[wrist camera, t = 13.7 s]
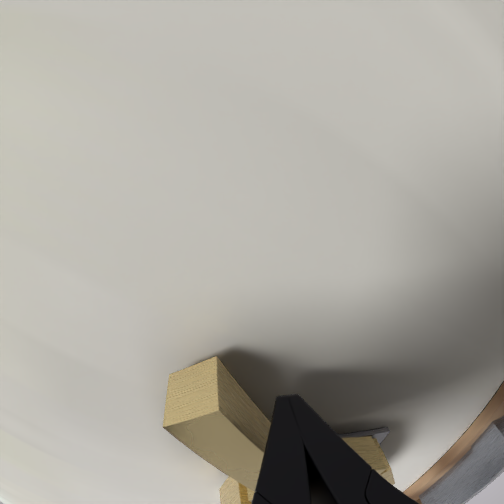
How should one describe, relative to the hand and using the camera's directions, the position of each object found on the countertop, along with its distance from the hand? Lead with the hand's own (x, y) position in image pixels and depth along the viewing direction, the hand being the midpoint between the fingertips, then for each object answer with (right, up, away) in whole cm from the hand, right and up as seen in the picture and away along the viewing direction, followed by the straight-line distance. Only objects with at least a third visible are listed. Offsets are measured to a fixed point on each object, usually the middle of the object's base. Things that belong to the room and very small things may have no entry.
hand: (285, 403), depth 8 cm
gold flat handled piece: (0, -5, +3) cm, 5 cm away
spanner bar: (+18, -15, +8) cm, 24 cm away
